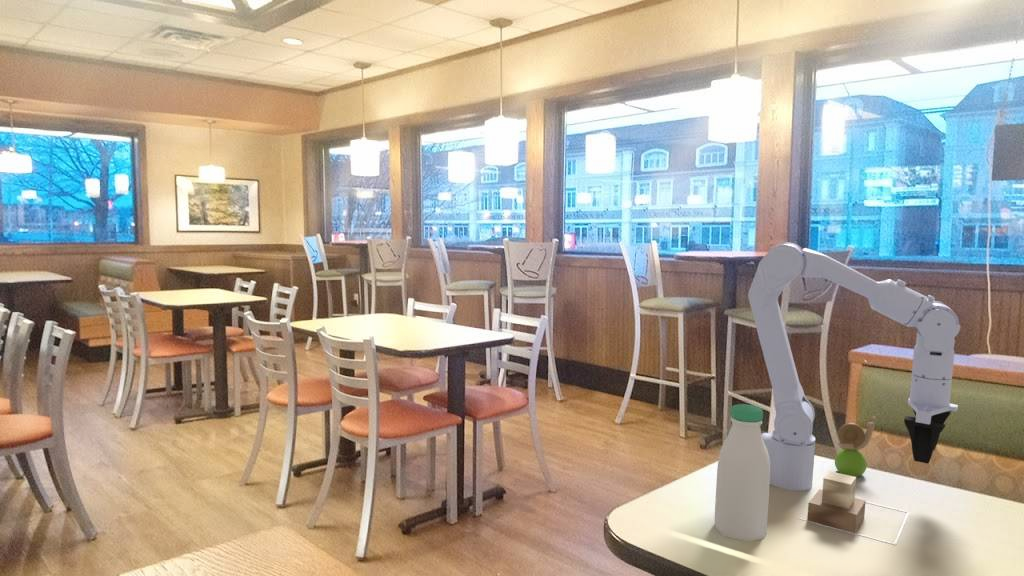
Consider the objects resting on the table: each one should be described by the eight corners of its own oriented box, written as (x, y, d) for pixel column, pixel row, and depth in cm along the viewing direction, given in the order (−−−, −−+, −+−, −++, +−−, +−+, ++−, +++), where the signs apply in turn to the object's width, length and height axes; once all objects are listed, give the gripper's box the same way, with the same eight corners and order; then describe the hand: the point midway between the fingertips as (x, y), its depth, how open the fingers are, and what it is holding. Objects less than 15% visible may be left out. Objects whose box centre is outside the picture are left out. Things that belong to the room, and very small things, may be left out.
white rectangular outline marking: (793, 522, 111) (793, 518, 111) (816, 492, 123) (816, 488, 123) (898, 551, 102) (898, 546, 102) (912, 516, 114) (913, 512, 114)
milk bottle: (776, 543, 104) (784, 414, 102) (728, 546, 103) (735, 415, 101) (750, 520, 112) (757, 399, 109) (705, 523, 110) (711, 401, 108)
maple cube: (821, 502, 110) (823, 478, 110) (827, 494, 113) (829, 471, 113) (849, 509, 108) (851, 484, 107) (854, 501, 111) (856, 477, 111)
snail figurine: (875, 484, 127) (880, 421, 126) (837, 480, 128) (842, 418, 127) (866, 473, 133) (871, 412, 131) (830, 470, 134) (835, 409, 132)
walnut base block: (807, 520, 110) (808, 502, 110) (818, 506, 116) (819, 489, 116) (855, 533, 106) (856, 514, 106) (864, 518, 112) (865, 500, 111)
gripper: (956, 388, 106) (948, 473, 108) (964, 371, 118) (956, 448, 119) (903, 381, 110) (897, 463, 112) (916, 365, 122) (910, 439, 123)
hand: (924, 455), depth 116 cm, fingers open, 7 cm apart
